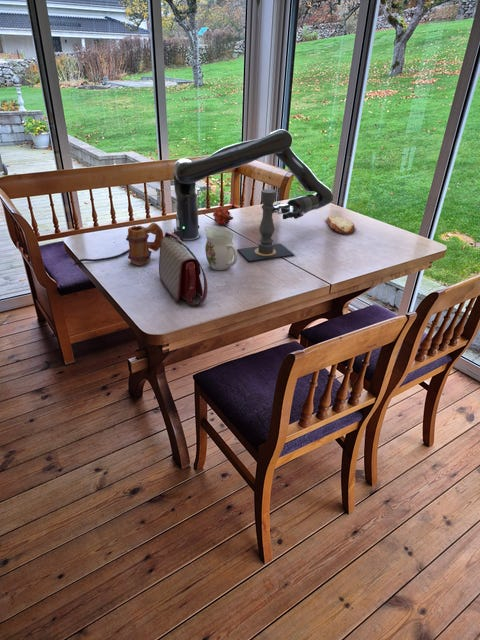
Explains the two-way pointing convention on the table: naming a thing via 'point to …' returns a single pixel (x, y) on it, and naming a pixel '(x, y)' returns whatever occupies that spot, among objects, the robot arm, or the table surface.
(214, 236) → the pitcher
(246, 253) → the placemat
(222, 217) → the dragon fruit
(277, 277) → the table surface
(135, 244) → the mug
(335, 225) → the bread slice
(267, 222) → the candle holder
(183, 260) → the handbag
